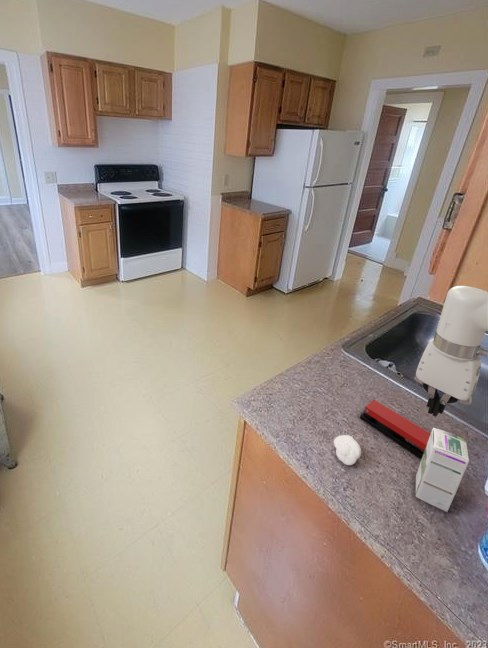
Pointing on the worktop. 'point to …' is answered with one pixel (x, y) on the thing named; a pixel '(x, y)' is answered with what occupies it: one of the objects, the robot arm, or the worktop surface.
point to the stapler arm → (398, 424)
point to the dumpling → (347, 449)
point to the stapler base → (393, 435)
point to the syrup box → (441, 468)
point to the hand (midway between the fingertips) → (434, 411)
